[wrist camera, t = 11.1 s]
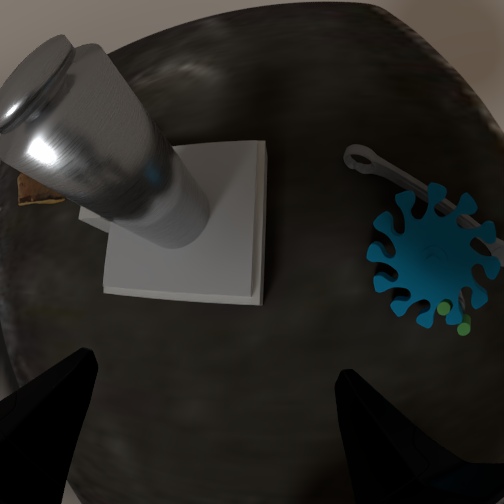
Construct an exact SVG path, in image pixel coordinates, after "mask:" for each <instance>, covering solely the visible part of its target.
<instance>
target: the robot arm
mask: <svg viewBox="0 0 504 504" xmlns="http://www.w3.org/2000/svg"><path fill="white" fill-rule="evenodd" d="M97 372H98V363H97V361H96V358H95V355H94V352H93V351H92V350H91V349H88V348H84V347H83V348H80V349H79V350H77V351H76V352H74V353H73V354H71V355H70V356H68V357H67V358H65V359H63V360H62V361H60V362H59V363H57V364H56V365H54V366H53V367H51V368H50V369H48V370H47V371H45V372H44V373H42V374H41V375H39V376H38V377H36V378H35V379H33V380H32V381H30V382H29V383H27V384H26V385H24V386H23V387H21V388H20V389H18V390H17V391H15V392H13V393H12V394H10V395H9V396H7V397H6V398H4V399H3V400H1V401H0V504H61V503H62V498H63V493H64V488H65V484H66V480H67V476H68V472H69V468H70V464H71V461H72V457H73V454H74V450H75V447H76V443H77V440H78V437H79V434H80V431H81V428H82V424H83V421H84V419H85V416H86V413H87V410H88V407H89V404H90V400H91V396H92V392H93V388H94V384H95V380H96V376H97ZM335 396H336V405H337V413H338V422H339V427H340V432H341V436H342V440H343V445H344V449H345V454H346V458H347V463H348V467H349V472H350V477H351V481H352V486H353V491H354V496H355V501H356V504H504V463H497V464H485V463H470V462H466V461H464V460H462V459H460V458H458V457H457V456H455V455H454V454H452V453H451V452H449V451H448V450H447V449H445V448H444V447H442V446H441V445H439V444H438V443H436V442H435V441H434V440H432V439H431V438H430V437H429V436H427V435H426V434H425V433H424V432H422V431H421V430H420V429H419V428H418V427H417V426H414V424H413V423H412V422H411V421H410V420H409V419H408V418H406V417H405V416H404V415H403V414H402V413H401V412H400V411H399V410H397V409H396V408H395V407H394V406H393V405H392V404H391V403H390V402H389V401H387V400H386V399H385V398H384V397H383V396H382V395H381V394H380V393H379V392H377V391H376V390H375V389H374V388H373V387H372V386H371V385H370V384H369V383H368V382H366V381H365V380H364V379H363V378H362V377H361V376H360V375H359V374H358V373H357V372H355V371H354V370H353V369H344V370H342V371H341V372H340V374H339V377H338V379H337V381H336V383H335Z"/></svg>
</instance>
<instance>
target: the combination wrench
mask: <svg viewBox="0 0 504 504" xmlns="http://www.w3.org/2000/svg"><path fill="white" fill-rule="evenodd" d="M351 154H357V155H361V156H364V157H366V158H367V159H369V160H370V161H371V163H372V164H362V163H357V162H356V161H355V160H354V159H352V158H351V156H350V155H351ZM343 160H344V162H345V164H346V165H347V166H348V167H349V168H350V169H356V170H357V171H359V172H361V173H362V174H370V173H371V174H375V175H379V176H382V177H385V178H387V179H388V180H390V181H392V182H394V183H395V184H397V185H399V186H401V187H402V188H404V189H406V190H407V191H413V192H414V194H415V196H417V197H419V198H420V199H422V200H423V201H425V202H427V203H428V202H429V198H428V193H427V189H428V186H427V185H425V184H423V183H422V182H420V181H419V180H417V179H416V178H414V177H412V176H411V175H409V174H407V173H406V172H404V171H402V170H401V169H399V168H397V167H396V166H394V165H392V164H390V163H389V162H387V161H386V160H384V159H382V158H381V157H379V156H378V155H376V153H375V152H374V151H373V150H371V149H370V148H368V147H366V146H363V145H358V144H354V145H350V146H349V147H347V148H346V151H345V153H344V156H343ZM456 207H457V206H456V205H454V204H453V203H451V202H450V201H449V200H447V199H446V198H444V199H443V200H442V201H440V202H439V203H437V204H435V206H434V208H436V209H437V210H439V211H440V212H442V213H443V214H445V215H448V214H450V213H451V212H452V211H454V210H455V208H456ZM456 223H457V224H459V225H460V226H462V227H463V228H466V229H473V228H476V227H479V226H480V224H479V223H478V222H477V221H475V220H474V219H473V218H471V217H470V216H469V215H467V214H461V215H459V216H458V217H457V219H456ZM476 238H478V239H479V240H480V241H481V242H483V243H484V244H485V245H486V246H487V248H488V249H489V251H490V252H491V255H492V256H495V257H497V258H498V259H499V261H500V263H501V266H503V267H504V241H502V240H500V239H499V238H497V237H496V242H495V243H493V244H488V243H486V242H484V241H483V240H482V239H481V238H480V237H476Z"/></svg>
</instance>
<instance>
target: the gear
mask: <svg viewBox="0 0 504 504" xmlns="http://www.w3.org/2000/svg"><path fill="white" fill-rule="evenodd" d="M427 193H428V198H429V202H428V208H427V211H426V213H425V215H424V217H423V218H422V219H415V218H414V217H413V216H412V214H411V209H412V207H413V205H414V203H415V200H416V197H415V194H414V192H413V191H404V192H401V193H399V194H396V196H395V200H396V203H397V205H398V206H399V207H400V209H401V210H402V212H403V215H404V219H405V232H404V233H403V234H399V233H397V232H396V231H395V230H394V228H393V216H392V215H391V214H390V213H389V212H388V211H386V212H384V213H382V214H381V215H379V216H378V217H377V218H376V219H375V221H374V222H373V225H374V227H375V228H376V229H377V230H378V231H381V232H383V233H384V234H386V235H387V236H388V237H389V238H390V239H391V241H392V243H393V245H394V247H395V249H396V254H395V255H389V254H388V253H387V252H386V250H385V248H384V246H383V244H382V243H380V242H378V241H374V242H373V243H372V244H371V245H370V246H369V249H368V252H367V259H368V260H369V261H371V262H383V263H386V264H388V265H390V266H392V267H393V268H394V269H395V270H396V271H397V272H398V275H399V276H398V277H397V278H392V277H391V276H389V275H388V274H387V273H385V272H379V273H377V274H376V275H375V277H374V287H375V290H376V292H380V293H381V292H384V291H385V290H387V289H389V288H392V287H402V288H407V289H408V290H409V291H410V292H411V296H409V297H405V296H397V297H395V298H394V300H393V301H392V303H391V305H390V306H391V308H392V310H393V311H394V313H395V314H396V315H397V316H398V317H399V316H402V315H404V314H405V312H406V310H407V309H408V307H409V306H410V305H411V304H413V303H414V302H417V301H419V300H422V299H426V300H428V301H429V302H430V304H431V305H430V306H429V307H427V308H424V309H422V310H421V311H420V312H419V314H418V317H417V320H416V322H417V323H418V324H419V325H421V326H423V327H426V328H430V327H431V326H432V324H433V320H434V311H435V309H436V307H437V311H438V313H439V314H440V315H446V323H447V324H450V325H455V324H458V328H457V331H458V333H459V334H460V335H462V336H464V335H467V334H468V333H469V332H470V324H471V319H470V316H469V315H467V314H464V312H465V301H464V298H463V294H462V291H461V288H462V287H464V286H468V287H470V288H471V289H472V294H471V304H472V306H473V307H474V308H475V309H477V308H480V307H481V306H483V305H484V304H485V303H486V302H487V301H488V296H487V291H486V290H485V289H484V288H483V287H481V286H480V285H478V284H477V282H476V281H475V279H474V278H473V275H472V272H471V268H472V266H473V265H475V264H481V265H482V266H483V267H484V270H485V273H486V276H487V277H488V278H489V279H495V278H496V276H497V275H498V272H499V270H500V266H501V263H500V261H499V259H498V258H497V257H495V256H483V255H481V254H479V253H477V252H476V251H475V250H474V249H472V248H471V246H470V242H471V240H472V239H473V238H474V237H480V238H481V239H482V240H483V241H484V242H486V243H488V244H493V243H495V242H496V230H495V226H494V223H493V222H492V221H486V222H484V223H483V224H482V225H480V226H479V227H476V228H473V229H466V228H460V227H459V226H458V225H457V223H456V219H457V217H458V216H459V215H461V214H467V215H471V214H474V213H475V212H476V211H477V209H478V207H477V204H476V203H475V201H474V199H473V198H472V197H471V196H470V195H469V194H468V193H464V194H463V195H462V196H461V197H460V201H459V203H458V205H457V207H456V208H455V210H454V211H452V212H451V213H450V214H448V215H446V216H444V217H439V216H437V215H436V213H435V211H434V206H435V204H437V203H439V202H440V201H442V200H443V199H444V198H445V196H446V193H447V190H446V188H445V187H444V186H442V185H440V184H437V183H432V182H431V183H430V184H429V186H428V189H427Z"/></svg>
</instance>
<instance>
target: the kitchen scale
mask: <svg viewBox="0 0 504 504" xmlns="http://www.w3.org/2000/svg"><path fill="white" fill-rule="evenodd" d="M172 147H173V149H174V150H175V152H176V153H177V154H178V156H179V157H180V159H181V160H182V161H183V163H184V164H185V166H186V167H187V168H188V170H189V171H190V173H191V174H192V175H193V177H194V178H195V180H196V181H197V182H198V184H199V185H200V187H201V188H202V189H203V191H204V192H205V194H206V196H207V198H208V201H209V206H210V214H209V219H208V222H207V225H206V227H205V229H204V230H203V232H202V233H201V235H200V236H199V237H198V238H197V239H196V240H194V241H193V242H192V243H190V244H189V245H187V246H184V247H182V248H178V249H166V248H162V247H160V246H158V245H156V244H154V243H152V242H150V241H148V240H146V239H144V238H142V237H140V236H138V235H136V234H134V233H132V232H130V231H128V230H126V229H124V228H122V227H120V226H118V225H117V224H115V223H113V222H111V221H109V220H107V219H105V218H103V217H101V216H99V215H98V214H96V213H94V212H92V211H90V210H88V209H86V208H84V207H83V206H81V209H80V214H79V219H80V220H82V221H84V222H86V223H88V224H90V225H92V226H94V227H96V228H99V229H101V230H103V231H105V232H109V238H108V245H107V252H106V260H105V269H104V279H103V286H104V293H109V294H117V295H125V296H134V297H144V298H155V299H166V300H178V301H192V302H206V303H223V304H243V305H263V288H264V261H265V232H266V198H267V158H268V157H267V150H266V143H265V141H257V140H250V141H228V142H213V143H201V144H190V145H180V146H172Z"/></svg>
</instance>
